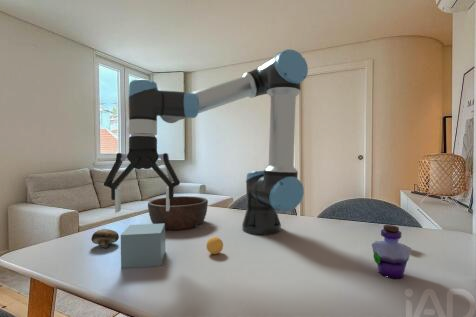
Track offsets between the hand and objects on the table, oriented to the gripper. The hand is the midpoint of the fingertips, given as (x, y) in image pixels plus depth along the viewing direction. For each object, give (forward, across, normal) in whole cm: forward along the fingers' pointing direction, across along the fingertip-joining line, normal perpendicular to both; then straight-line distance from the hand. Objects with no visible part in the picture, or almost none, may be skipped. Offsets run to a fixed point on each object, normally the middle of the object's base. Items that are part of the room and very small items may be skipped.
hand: (143, 211), depth 76 cm
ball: (+11, -20, -1) cm, 23 cm away
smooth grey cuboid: (+14, 0, 0) cm, 14 cm away
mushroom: (+14, +15, -14) cm, 25 cm away
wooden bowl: (+14, -7, -38) cm, 41 cm away
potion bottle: (+13, -62, +20) cm, 67 cm away
